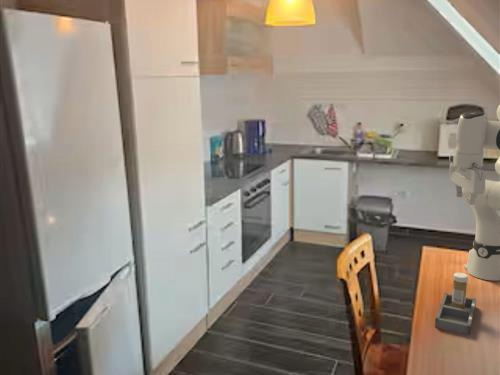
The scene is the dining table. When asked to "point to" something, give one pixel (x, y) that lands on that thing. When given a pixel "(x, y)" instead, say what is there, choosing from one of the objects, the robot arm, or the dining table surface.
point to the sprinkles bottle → (459, 290)
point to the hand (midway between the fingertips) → (464, 200)
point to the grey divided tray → (455, 315)
